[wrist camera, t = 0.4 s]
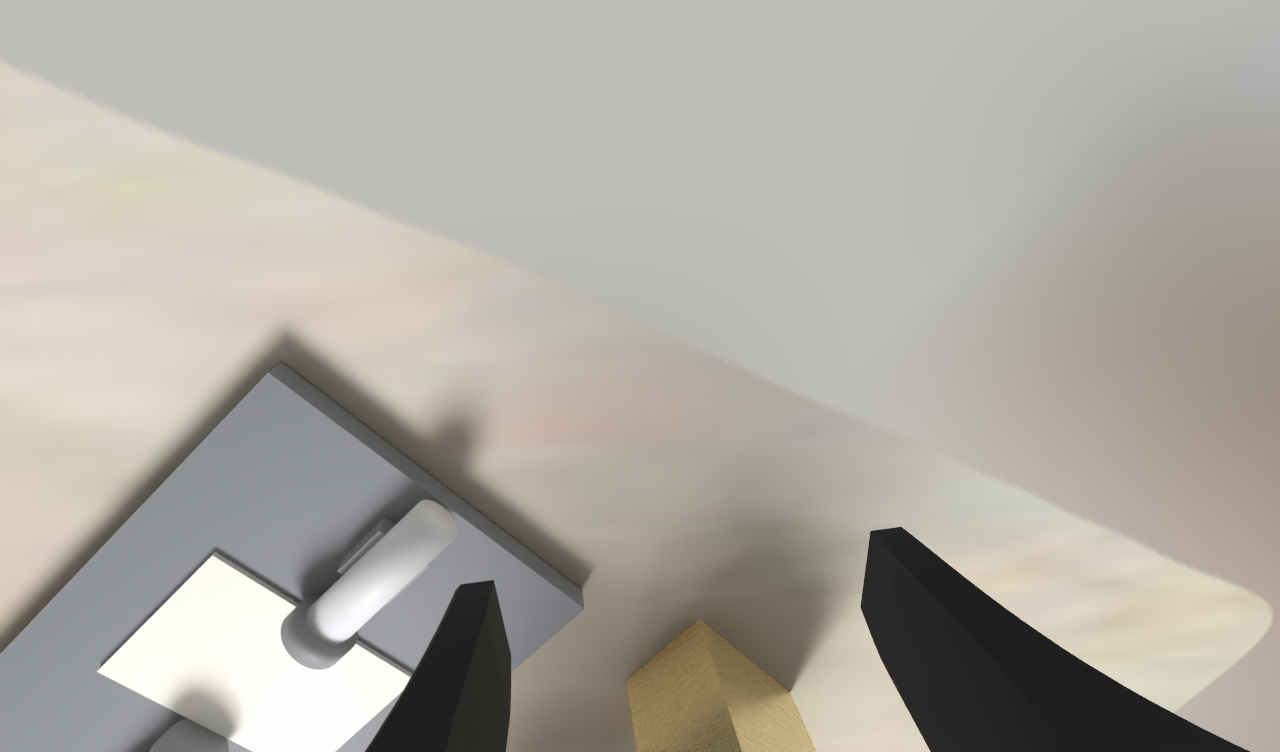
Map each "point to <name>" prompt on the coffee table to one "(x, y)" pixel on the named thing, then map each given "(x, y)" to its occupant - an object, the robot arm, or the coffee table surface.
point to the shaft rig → (266, 595)
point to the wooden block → (711, 701)
